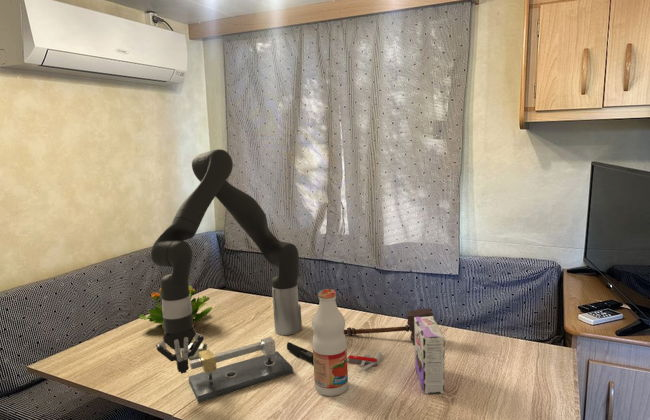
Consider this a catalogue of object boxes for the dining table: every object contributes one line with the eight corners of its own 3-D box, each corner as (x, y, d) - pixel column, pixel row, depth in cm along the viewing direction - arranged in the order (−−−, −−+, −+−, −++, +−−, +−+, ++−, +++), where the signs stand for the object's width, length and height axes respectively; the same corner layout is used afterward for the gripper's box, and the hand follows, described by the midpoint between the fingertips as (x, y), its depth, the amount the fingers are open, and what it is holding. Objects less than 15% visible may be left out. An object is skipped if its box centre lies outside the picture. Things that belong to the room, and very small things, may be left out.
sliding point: (211, 368, 130) (209, 346, 129) (217, 379, 124) (215, 356, 123) (200, 371, 129) (198, 349, 128) (206, 383, 122) (204, 360, 121)
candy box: (414, 368, 130) (413, 315, 128) (434, 367, 130) (433, 315, 127) (423, 394, 117) (422, 336, 114) (445, 394, 116) (445, 336, 114)
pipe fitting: (198, 362, 141) (207, 351, 148) (196, 351, 140) (206, 340, 147) (175, 361, 143) (186, 349, 149) (174, 350, 142) (184, 339, 148)
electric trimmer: (293, 348, 147) (292, 339, 147) (323, 363, 136) (323, 354, 136) (284, 352, 145) (283, 343, 144) (314, 368, 133) (314, 358, 133)
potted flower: (191, 309, 186) (187, 269, 184) (229, 320, 173) (225, 277, 170) (137, 331, 166) (132, 287, 164) (175, 345, 153) (170, 297, 150)
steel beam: (269, 354, 138) (267, 333, 137) (276, 362, 132) (274, 340, 131) (191, 376, 126) (189, 354, 125) (195, 386, 121) (193, 362, 120)
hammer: (437, 343, 142) (431, 314, 141) (343, 353, 152) (336, 326, 151) (438, 334, 148) (432, 306, 147) (347, 344, 158) (341, 318, 158)
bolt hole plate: (277, 356, 141) (277, 350, 141) (292, 373, 130) (292, 366, 130) (189, 382, 128) (188, 376, 128) (198, 403, 117) (197, 395, 117)
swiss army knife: (335, 372, 130) (334, 366, 130) (348, 350, 143) (348, 345, 143) (372, 378, 126) (372, 371, 126) (382, 355, 139) (382, 349, 139)
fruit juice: (320, 376, 128) (316, 285, 124) (351, 380, 125) (348, 287, 121) (310, 394, 119) (304, 296, 115) (343, 399, 116) (339, 299, 112)
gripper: (199, 303, 124) (204, 360, 127) (149, 313, 118) (156, 372, 121) (205, 311, 118) (210, 371, 120) (153, 322, 112) (160, 385, 114)
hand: (183, 371), depth 121 cm, fingers closed
